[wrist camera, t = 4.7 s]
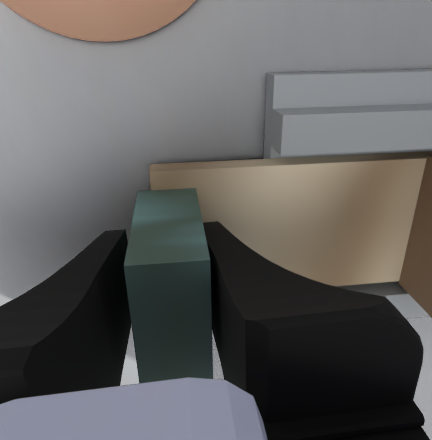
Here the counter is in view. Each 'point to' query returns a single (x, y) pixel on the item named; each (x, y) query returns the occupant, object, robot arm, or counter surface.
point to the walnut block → (420, 246)
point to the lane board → (351, 127)
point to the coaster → (100, 16)
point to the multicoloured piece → (258, 238)
